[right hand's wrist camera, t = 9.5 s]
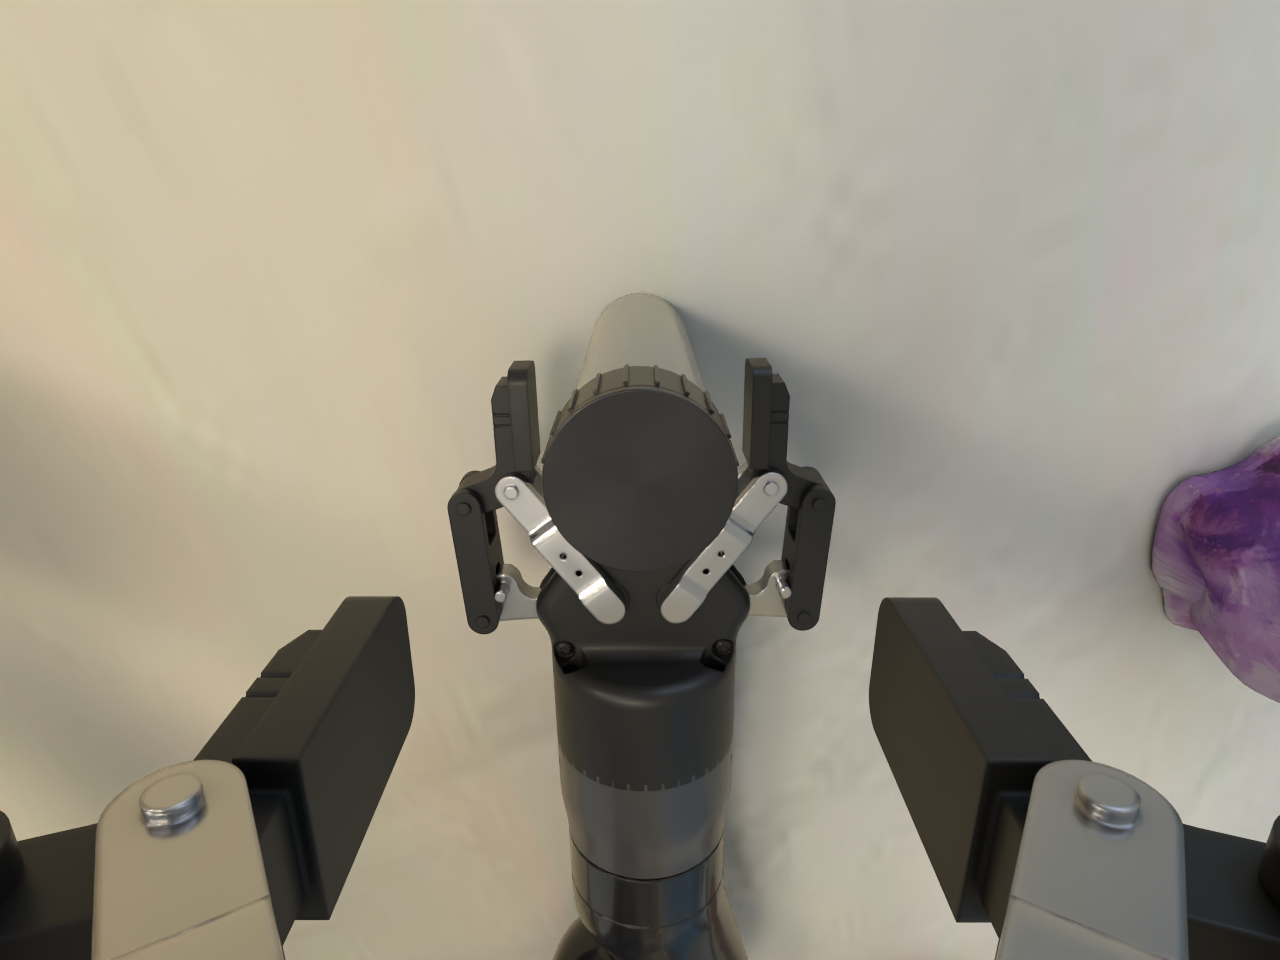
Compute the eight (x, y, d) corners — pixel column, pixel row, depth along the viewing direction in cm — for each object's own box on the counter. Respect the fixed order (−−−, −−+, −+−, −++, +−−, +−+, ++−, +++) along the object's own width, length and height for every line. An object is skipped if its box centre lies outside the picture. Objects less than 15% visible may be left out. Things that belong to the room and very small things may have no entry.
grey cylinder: (580, 309, 34) (527, 422, 18) (672, 281, 34) (700, 370, 18) (609, 398, 36) (584, 576, 20) (698, 372, 35) (747, 531, 19)
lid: (525, 393, 20) (510, 421, 18) (702, 339, 19) (710, 360, 17) (583, 552, 22) (576, 596, 19) (748, 506, 21) (762, 545, 19)
